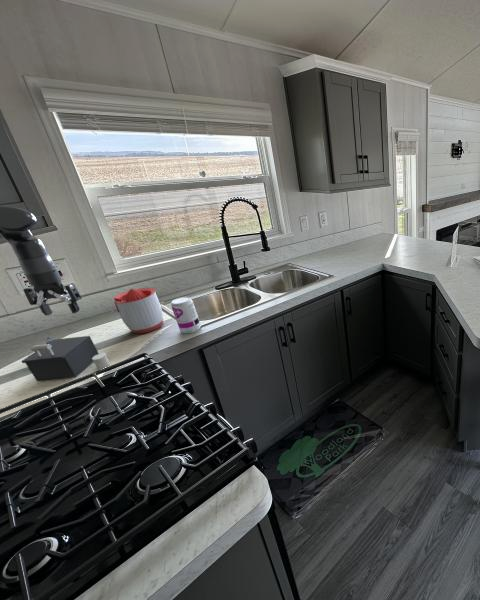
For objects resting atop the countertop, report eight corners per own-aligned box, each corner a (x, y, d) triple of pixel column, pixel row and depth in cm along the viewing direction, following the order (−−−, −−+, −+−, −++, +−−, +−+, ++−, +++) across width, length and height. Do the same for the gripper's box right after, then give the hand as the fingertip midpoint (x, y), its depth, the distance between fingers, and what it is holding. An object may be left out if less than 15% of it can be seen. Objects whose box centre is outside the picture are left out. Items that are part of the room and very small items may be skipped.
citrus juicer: (122, 328, 153) (103, 289, 144) (165, 316, 163) (151, 279, 154) (123, 341, 142) (104, 300, 133) (170, 328, 152) (154, 288, 143)
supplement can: (188, 335, 145) (177, 305, 138) (176, 332, 148) (165, 302, 142) (205, 327, 151) (195, 297, 145) (193, 323, 155) (183, 295, 148)
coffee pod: (106, 369, 124) (101, 358, 122) (95, 370, 123) (89, 360, 121) (113, 363, 127) (108, 352, 125) (102, 364, 127) (96, 354, 125)
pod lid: (62, 358, 116) (55, 346, 113) (22, 363, 114) (14, 350, 112) (90, 337, 129) (84, 326, 126) (54, 341, 127) (47, 329, 125)
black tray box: (75, 377, 120) (64, 357, 116) (37, 381, 119) (24, 361, 115) (100, 356, 132) (90, 337, 129) (65, 359, 131) (54, 341, 127)
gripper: (4, 275, 104) (30, 320, 110) (55, 271, 105) (77, 316, 112) (25, 267, 110) (48, 310, 117) (72, 264, 112) (92, 307, 119)
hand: (62, 313), depth 115 cm, fingers open, 8 cm apart
